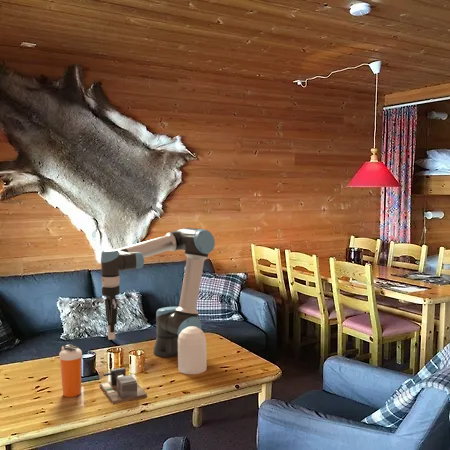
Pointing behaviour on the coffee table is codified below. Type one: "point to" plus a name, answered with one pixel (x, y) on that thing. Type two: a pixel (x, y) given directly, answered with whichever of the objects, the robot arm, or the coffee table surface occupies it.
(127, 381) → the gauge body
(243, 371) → the coffee table surface
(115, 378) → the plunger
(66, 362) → the shaker bottle
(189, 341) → the container
